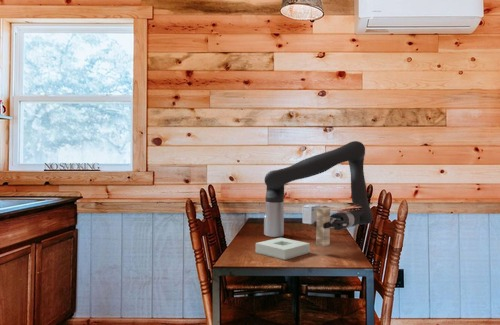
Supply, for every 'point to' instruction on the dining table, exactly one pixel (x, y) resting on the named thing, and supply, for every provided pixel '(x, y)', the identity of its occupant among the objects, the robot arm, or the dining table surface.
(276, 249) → the socket block
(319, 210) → the peg
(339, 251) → the dining table surface
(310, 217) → the light bulb box
